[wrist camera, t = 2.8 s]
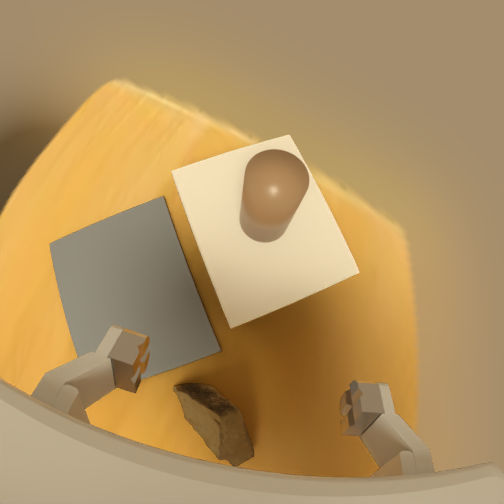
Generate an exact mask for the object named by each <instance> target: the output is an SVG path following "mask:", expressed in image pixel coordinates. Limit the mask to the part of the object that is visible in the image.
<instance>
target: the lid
mask: <svg viewBox="0 0 504 504" xmlns="http://www.w3.org/2000/svg"><path fill="white" fill-rule="evenodd" d="M171 172H172V175H173V179H174V182H175V185H176V188H177V191H178V194H179V196H180V199H181V202H182V205H183V208H184V210H185V213H186V216H187V219H188V221H189V224H190V227H191V229H192V232H193V235H194V238H195V240H196V243H197V246H198V248H199V251H200V253H201V256H202V259H203V261H204V264H205V266H206V269H207V272H208V274H209V277H210V279H211V282H212V284H213V287H214V289H215V292H216V295H217V297H218V300H219V302H220V304H221V307H222V309H223V312H224V314H225V317H226V319H227V322H228V324H229V327H230V329H232V328H234V327H237V326H239V325H242V324H244V323H247V322H249V321H252V320H254V319H257V318H259V317H262V316H264V315H266V314H269V313H271V312H274V311H276V310H278V309H281V308H283V307H285V306H288V305H290V304H292V303H295V302H297V301H299V300H302V299H304V298H306V297H308V296H311V295H313V294H315V293H317V292H320V291H322V290H324V289H326V288H328V287H331V286H333V285H335V284H337V283H339V282H342V281H344V280H346V279H348V278H350V277H352V276H354V275H356V274H358V273H359V272H360V271H359V269H358V267H357V265H356V262H355V260H354V258H353V256H352V254H351V252H350V250H349V247H348V245H347V243H346V241H345V239H344V237H343V235H342V233H341V231H340V229H339V227H338V225H337V223H336V221H335V219H334V217H333V215H332V213H331V211H330V209H329V207H328V205H327V203H326V201H325V199H324V197H323V195H322V193H321V191H320V189H319V187H318V185H317V184H316V182H315V180H314V178H313V176H312V174H311V172H310V171H309V169H308V167H307V165H306V163H305V161H304V160H303V158H302V156H301V154H300V152H299V151H298V149H297V147H296V145H295V143H294V142H293V140H292V138H291V136H290V135H286V136H282V137H279V138H275V139H271V140H268V141H264V142H260V143H257V144H253V145H250V146H247V147H243V148H240V149H237V150H233V151H230V152H227V153H224V154H221V155H217V156H214V157H211V158H208V159H205V160H202V161H199V162H196V163H193V164H190V165H187V166H184V167H182V168H179V169H176V170H173V171H171Z"/></svg>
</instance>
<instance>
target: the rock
mask: <svg viewBox="0 0 504 504" xmlns="http://www.w3.org/2000/svg"><path fill="white" fill-rule="evenodd" d="M173 390H174V392H175V393H176V394H177V396H178V398H179V400H180V402H181V405H182V408H183V412H184V417H185V419H186V420H187V421H188V422H189V423H190V424H191V425H192V426H193V429H194V430H195V431H197V432H198V434H199V435H200V436H201V437H202V438H203V439H204V441H205V443H206V445H207V446H208V447H209V448H210V449H211V451H212V452H213V453H214V454H215V455H216V457H217V458H218V459H219V460H228V461H229V462H230V463H231V464H232V465H233V466H234V467H236V466H238V465H240V464H241V463H243V462H245V461H247V460H249V459H250V458H252V457H254V455H253V454H254V450H253V448H252V447H253V446H252V442H251V439H250V438H249V436H248V432H247V430H246V425H245V423H244V420H243V417H242V415H241V413H240V412H239V409H238V408H237V407H236V406H235V405H233V404H232V402H230V401H229V400H228V399H226V398H225V397H223V396H222V395H221V394H220V393H219V392H218V391H217V390H216V389H215V388H214V387H213V386H211V385H205V384H194V383H187V384H182V385H177V386H174V388H173Z"/></svg>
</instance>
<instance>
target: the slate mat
mask: <svg viewBox="0 0 504 504" xmlns="http://www.w3.org/2000/svg"><path fill="white" fill-rule="evenodd" d="M50 250H51V255H52V260H53V266H54V270H55V275H56V280H57V284H58V289H59V293H60V297H61V301H62V305H63V309H64V313H65V316H66V320H67V323H68V327H69V330H70V334H71V337H72V340H73V343H74V347H75V350H76V353H77V356H78V358H79V357H81V356H83V355H85V354H87V353H89V352H91V351H92V352H95V351H96V350H97V348H98V346H99V345H100V343H101V342H102V340H103V338H104V337H105V335H106V333H107V332H108V330H109V329H110V327H111V326H112V325H117V326H119V327H122V328H126V329H128V330H131V331H134V332H137V333H140V334H143V335H146V336H149V339H150V343H149V345H148V347H147V348H148V349H149V350H150V356H149V362H148V365H147V368H146V370H145V372H144V373H142V374H141V380H142V379H145V378H148V377H151V376H153V375H156V374H159V373H162V372H165V371H168V370H171V369H174V368H177V367H179V366H182V365H185V364H188V363H190V362H193V361H196V360H199V359H201V358H204V357H207V356H209V355H212V354H214V353H217V352H220V351H221V349H220V347H219V344H218V342H217V339H216V337H215V334H214V332H213V329H212V327H211V325H210V322H209V320H208V317H207V315H206V312H205V310H204V307H203V304H202V302H201V299H200V297H199V294H198V292H197V289H196V286H195V284H194V281H193V278H192V276H191V273H190V270H189V268H188V265H187V262H186V259H185V257H184V254H183V251H182V248H181V246H180V243H179V240H178V237H177V234H176V232H175V229H174V226H173V223H172V220H171V217H170V214H169V211H168V208H167V205H166V202H165V199H164V197H163V196H162V197H159V198H157V199H154V200H152V201H149V202H146V203H144V204H141V205H139V206H136V207H134V208H131V209H129V210H126V211H124V212H121V213H119V214H116V215H114V216H111V217H109V218H107V219H104V220H102V221H99V222H97V223H95V224H92V225H90V226H88V227H86V228H83V229H81V230H79V231H76V232H74V233H72V234H70V235H68V236H65V237H63V238H61V239H59V240H57V241H54V242H52V243H50Z"/></svg>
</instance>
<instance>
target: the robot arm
mask: <svg viewBox="0 0 504 504" xmlns="http://www.w3.org/2000/svg"><path fill="white" fill-rule="evenodd" d="M149 343H150V339H149V336H146V335H143V334H140V333H137V332H134V331H131V330H128V329H126V328H122V327H119V326H117V325H112V326H111V327H110V329H109V330H108V332H107V333H106V335H105V337H104V338H103V340H102V342H101V343H100V345H99V346H98V348H97V350H96V351H95V352H92V351H91V352H89V353H87V354H85V355H83V356H81V357H79V358H77V359H74V360H72V361H70V362H68V363H66V364H64V365H62V366H59V367H57V368H55V369H53V370H51V371H49V372H47V373H45V375H44V376H43V378H42V379H41V381H40V382H39V384H38V385H37V387H36V389H35V390H34V392H33V393H32V395H31V396H30V395H29V394H27V393H25V392H23V391H22V390H20V389H18V388H16V387H15V386H13V385H11V384H10V383H8V382H6V381H5V380H3V379H1V378H0V504H504V472H503V470H502V469H501V468H499V466H497V465H496V464H495V463H492V462H489V463H483V464H479V465H474V466H469V467H464V468H458V469H452V470H446V471H439V472H434V468H433V463H432V458H431V453H430V449H429V448H428V447H427V446H426V445H425V444H424V442H423V441H422V440H421V439H420V438H419V437H418V436H417V434H416V433H415V432H414V431H413V430H412V429H411V428H410V427H409V426H408V424H407V423H406V422H405V421H404V420H403V419H402V418H401V417H400V416H399V414H395V409H394V405H393V401H392V396H391V392H390V388H389V385H388V384H387V383H378V382H370V381H360V380H354V381H352V383H351V384H350V390H348V391H345V393H344V394H343V396H342V398H341V401H340V413H341V414H342V416H343V417H344V418H343V419H342V420H341V429H342V435H353V436H360V438H361V440H362V441H363V443H364V444H365V446H366V447H367V449H368V451H369V452H370V454H371V455H372V457H373V458H374V460H375V461H376V463H377V465H378V466H379V468H380V469H378V470H377V471H376V472H374V473H373V474H372V475H371V476H370V477H321V476H305V475H293V474H283V473H274V472H266V471H259V470H252V469H246V468H240V467H234V466H229V465H224V464H219V463H214V462H209V461H205V460H200V459H196V458H192V457H188V456H184V455H180V454H176V453H173V452H169V451H165V450H162V449H159V448H155V447H152V446H149V445H146V444H142V443H139V442H136V441H133V440H131V439H128V438H125V437H122V436H119V435H117V434H114V433H111V432H109V431H106V430H103V429H101V428H98V427H96V426H93V425H91V424H90V422H89V419H88V417H87V414H86V411H85V409H86V408H87V407H89V406H90V405H92V404H93V403H95V402H96V401H98V400H99V399H100V398H102V397H103V396H105V395H106V394H108V393H109V392H111V391H112V390H114V389H115V388H116V387H117V388H120V389H123V390H126V391H130V392H133V393H136V391H137V389H138V387H139V384H140V382H141V374H142V373H144V372H145V370H146V368H147V365H148V362H149V356H150V350H149V349H148V348H147V347H148V345H149Z"/></svg>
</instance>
